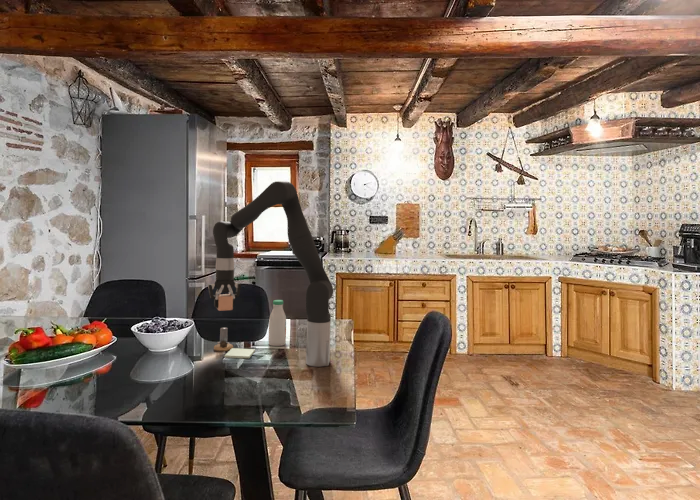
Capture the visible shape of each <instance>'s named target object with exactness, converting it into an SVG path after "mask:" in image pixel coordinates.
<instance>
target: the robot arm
mask: <svg viewBox="0 0 700 500" xmlns="http://www.w3.org/2000/svg"><path fill="white" fill-rule="evenodd" d="M300 202H301V201H300V199H299V193H298V192H297V189H296V187H295V185H294V184H293V183H291V182H290V181H287V180H275V181H274V182H272V183H270V184H269V185H267V187H266V188H265V189H264V190H263V191H262V192H261V193H260V194H259V195H258V196H257V197H256V198H255V199H253V200H252V201H251V202H250V203H248V204H247V205H245V206H243V207H242V208H241V209H239V210H238V211H237V212H235V213H234V214H232V216H231V217H230V220H229V221H217V222H215V223H214V226H213V228H212V236H213V239H214V243H215V247H216V256H215V257H216V260H215V281H214V283H208V284H207V288H208V294H209V298H210V299H212V300H214V301H213V306H214V307H215V309H217V308H218V296H220V295H222V294H221V293H228V294H230V295H231V296H233V307H235V304H236V303H235V299H237V298H239V297H240V294H241V288H242V283H240V282H235V260H234V257H235V256H234V255H235V254H234V252H235V249H234V245H233V244H230V243H229V240H228V239H232V238H235V237H236V236H237V235H239V234H240V233H241V232H242V230H243V229H244V228H246V227H248V226H250V225H251V224H252V223H254V222H255V221H256V220H257V219H259V217H260V216H261V214H262V213H264V212H265V211H266V210H268V209H270V208H272V207H274V206H277V205H281V207H282V208H283V211H284V213H285V217H286V220H287V229H286V230H287V239H288V241H289V245H290V247H291V250H292V253H293V254H294V256H295V258H296V260H298V262H299V263H300V264H301V266H302V268H303V269H304V270H305V273H306V275H307V278H308V281H309V285H308V286H307V288H306V292H305V313H306V314H305V315H306V316H307V319H306V321H307V322H306V349H305V363H306V365H307V366H310V367H315V368H316V367H319V368H320V367H329V365H330V359H331V358H330V356H331V354H330V353H331V318H332V317H331V316H332V315H331V312H330V311H329V309H330V300H331V298H332V297H333V294H334V287H333V284H332V282H331V280H330V277H328V274H327V273H326V270H325V268H324V266H323V263H322V261H321V258H320V257H321V256H320V255H319V252H318V248H317V245H316V243H315V240H314V238H313V235H312V233H311V231H310V229H309V225H308V223H307V219H306V218H305V215H304V213H303V209H302V206H301V203H300ZM215 288H216V291H215V294H214V292H213V290H214V289H215ZM233 288H235V293H234V291H233ZM217 310H218V309H217Z"/></svg>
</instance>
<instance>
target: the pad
mask: <svg viewBox="0 0 700 500" xmlns="http://www.w3.org/2000/svg"><path fill="white" fill-rule="evenodd" d="M255 352H256V348H239V347H238V348H237V347H233V348H232V349H231V350H230V351H227V353H225V354H224V358H231V359H232V358H233V359H234V358H235V359H250V358H251V356H252V355H253V354H254V353H255Z"/></svg>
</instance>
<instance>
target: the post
mask: <svg viewBox="0 0 700 500" xmlns="http://www.w3.org/2000/svg"><path fill="white" fill-rule="evenodd" d="M228 329H229V328H228V327H220V329H219V331H220V332H219V333H220V334H219V341H217V342H216V344H215V345H214V346H213V351H215V352H218V353H222V352H223V353H225V352H229V351H230V350H231V349H232V348H234V344H232V343H230V342H228Z"/></svg>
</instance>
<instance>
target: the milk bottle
mask: <svg viewBox="0 0 700 500" xmlns="http://www.w3.org/2000/svg"><path fill="white" fill-rule="evenodd" d="M272 306H273V308H272V311H271V313H270V315H269V321H268V345H269V346H272V347H280V346H284V345H286V342H287V341H286V340H287V317H286V313H285V311H284V300H283V299H275V300H273V301H272Z"/></svg>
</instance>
